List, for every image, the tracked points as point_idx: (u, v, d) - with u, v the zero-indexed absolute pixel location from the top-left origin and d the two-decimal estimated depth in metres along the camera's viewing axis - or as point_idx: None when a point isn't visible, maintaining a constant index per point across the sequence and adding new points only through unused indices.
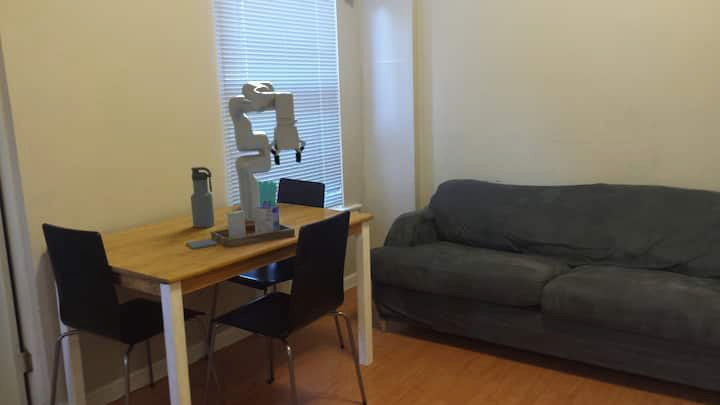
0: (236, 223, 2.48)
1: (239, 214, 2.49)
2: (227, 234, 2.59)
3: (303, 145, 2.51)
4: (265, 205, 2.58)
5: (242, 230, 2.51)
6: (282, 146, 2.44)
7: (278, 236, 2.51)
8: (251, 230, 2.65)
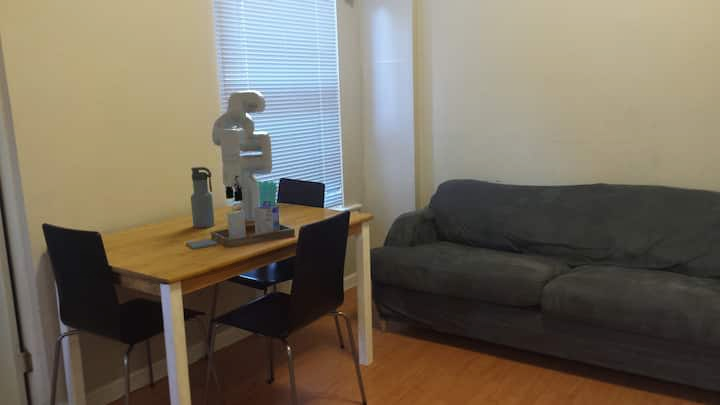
0: (236, 223, 2.48)
1: (239, 214, 2.49)
2: (227, 234, 2.59)
3: None
4: (265, 205, 2.58)
5: (242, 230, 2.51)
6: None
7: (278, 236, 2.51)
8: (251, 230, 2.65)
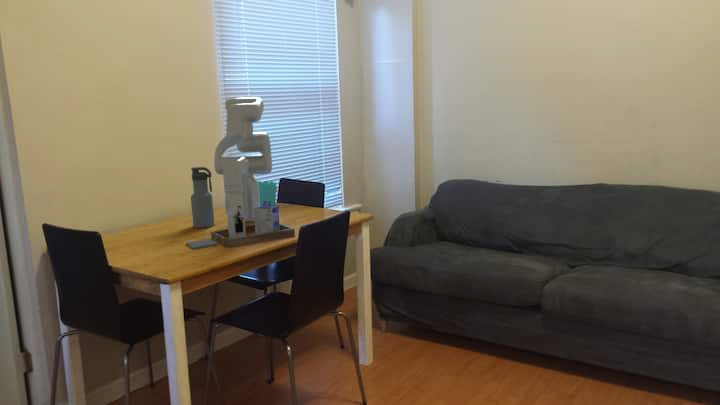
0: None
1: None
2: (227, 234, 2.59)
3: None
4: (265, 205, 2.58)
5: None
6: None
7: (278, 236, 2.51)
8: (251, 230, 2.65)
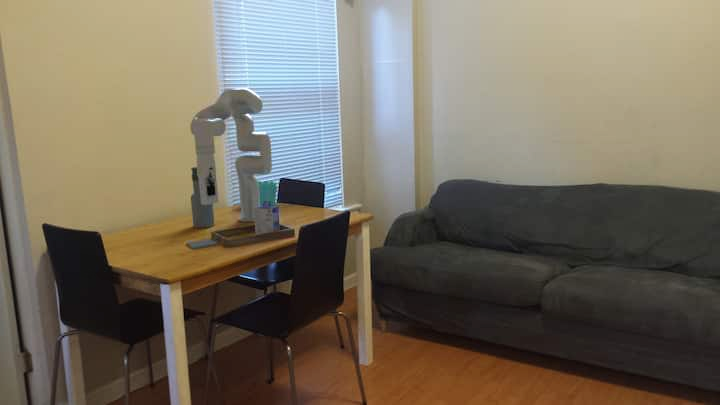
0: None
1: (210, 177, 2.41)
2: (227, 234, 2.59)
3: None
4: (265, 205, 2.58)
5: None
6: None
7: (278, 236, 2.51)
8: (251, 230, 2.65)
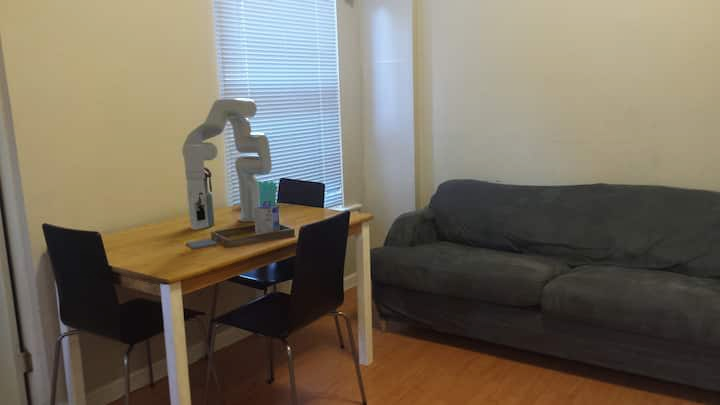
0: (196, 210, 2.40)
1: None
2: (227, 234, 2.59)
3: None
4: (265, 205, 2.58)
5: None
6: None
7: (278, 236, 2.51)
8: (251, 230, 2.65)
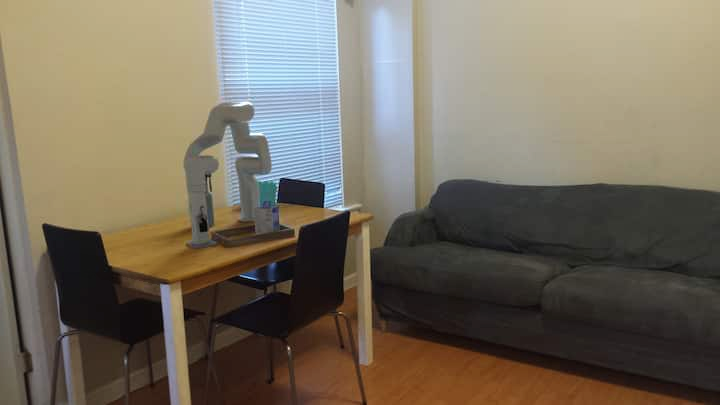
0: (198, 226, 2.42)
1: None
2: (227, 234, 2.59)
3: None
4: (265, 205, 2.58)
5: (205, 233, 2.44)
6: None
7: (278, 236, 2.51)
8: (251, 230, 2.65)
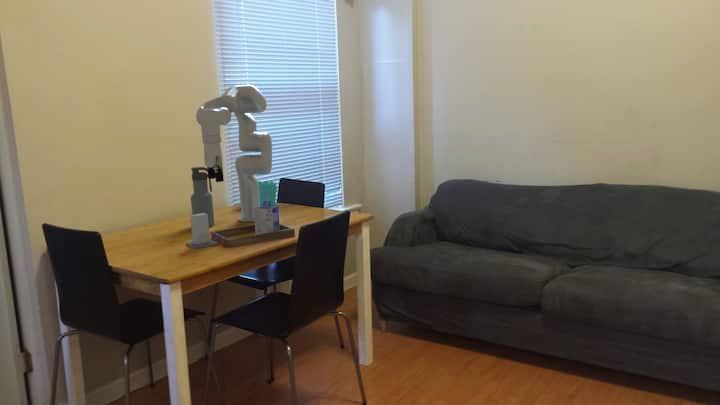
0: (198, 226, 2.42)
1: (202, 217, 2.42)
2: (227, 234, 2.59)
3: None
4: (265, 205, 2.58)
5: (205, 233, 2.44)
6: None
7: (278, 236, 2.51)
8: (251, 230, 2.65)
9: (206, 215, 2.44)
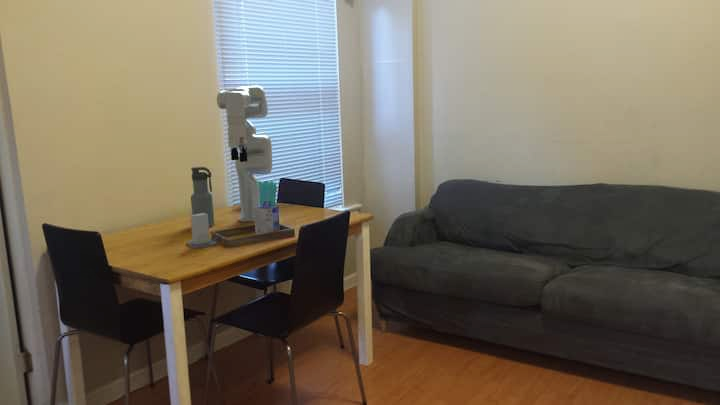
0: (198, 226, 2.42)
1: (202, 217, 2.42)
2: (227, 234, 2.59)
3: None
4: (265, 205, 2.58)
5: (205, 233, 2.44)
6: None
7: (278, 236, 2.51)
8: (251, 230, 2.65)
9: (206, 215, 2.44)
